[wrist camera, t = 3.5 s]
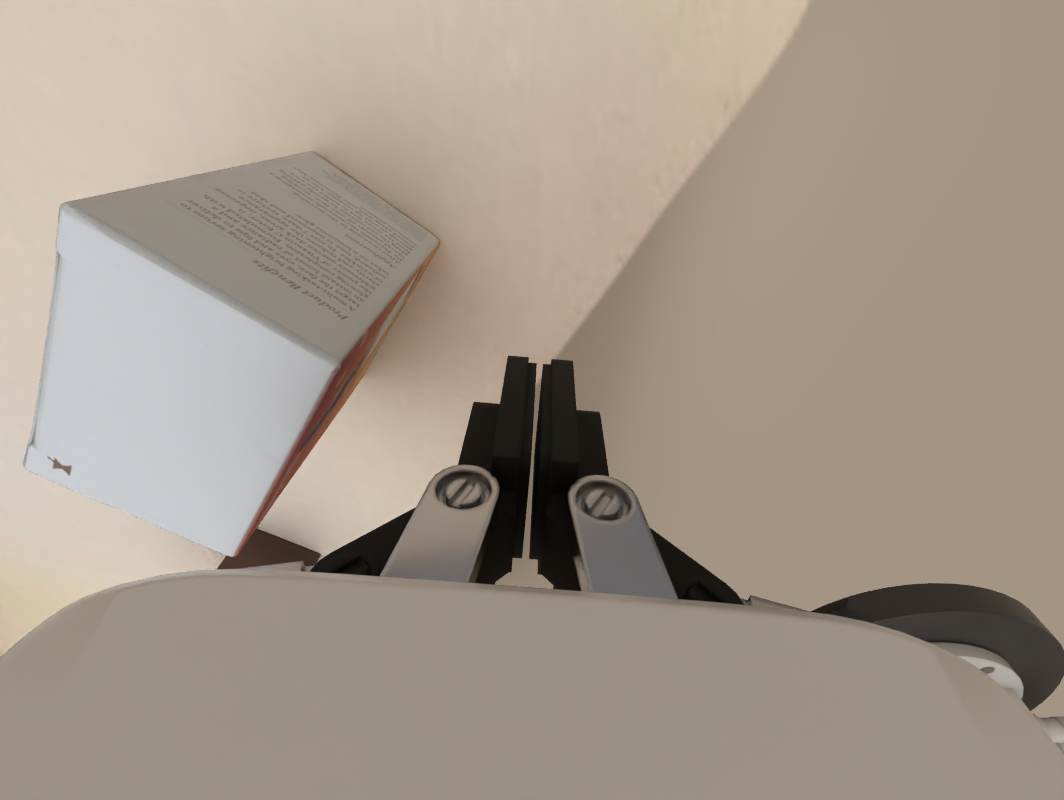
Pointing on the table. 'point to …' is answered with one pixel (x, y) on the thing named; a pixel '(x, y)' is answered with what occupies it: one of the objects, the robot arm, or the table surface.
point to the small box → (214, 337)
